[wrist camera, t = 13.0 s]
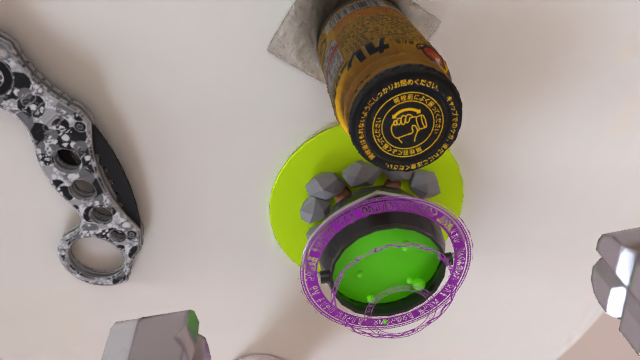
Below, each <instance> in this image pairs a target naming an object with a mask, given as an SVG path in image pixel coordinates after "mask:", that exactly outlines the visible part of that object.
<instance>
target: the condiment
mask: <svg viewBox="0 0 640 360" xmlns="http://www.w3.org/2000/svg"><path fill="white" fill-rule="evenodd" d="M440 23H441V21H440V20H438V19H437V18H435V17H434V16H433V15H431V14H430V13H428V12H427V11H426V10H424V9H423V8H421V7H420V6H418V5H417V4H416V3H414V2H413V1H411V0H296V2H295V3H294V5H293V6H292V8H291V10H290V12H289V13H288V15H287V17H286V19H285V20H284V22H283V23H282V25H281V27H280V28H279V30H278V31H277V33H276V35H275V37H274V38H273V40H272V42H271V43H270V45H269V47H268V48H267V50H268V51H270V52H271V53H273V54H275V55H276V56H278V57H280V58H282V59H283V60H285V61H287V62H289V63H290V64H292V65H293V66H295V67H297V68H299V69H301V70H302V71H304V72H305V73H307V74H309V75H311V76H312V77H314V78H316V79H318V80H319V81H321V82H323V83H325V84H327V88H328V93H329V96H330V99H331V103H332V107H333V109H334V113H335V116H336V119H337V121H338V122H339V123H340V125H341V127H342V129H343V130H344V131H345V132H346V134H347V135H348V136H349V137H350V138H351V141H352V143H353V145H354V146H355V148H356V150H358V153H359V154H360V155H361V156H362V157H363V158H364V159H365V160H367V161H368V162H370V163H372V164H374V165H375V166H376V167H380V168H382V169H384V170H387V171H404V172H409V171H414V170H417V169H420V168H422V167H424V166H427V165H429V164H431V163H432V162H434V161H436V160H437V159H438V158H439V157H441V156H442V155H443V154H444V152H445V151H446V150H447V149H448V148H449V147H450V146H451V145H452V144H453V142H454V141H455V140H456V137H457V135H458V132H459V129H460V127H461V122H462V102H461V99H460V95H459V92H458V90H457V88H456V87H455V85H454V84H453V83H452V79H451V76H450V72H449V69H448V67H447V65H446V62H445V61H444V60H443V58H442V57H441V55H439V54H438V52H437V51H436V50H435V49H434V48H433V46H432V45H431V44H430V43H429V42H428V41H427V40H428V39H429V38H430V36H431V35H432V34H433V32H434V31H435V30H436V28H437V27H438V25H439V24H440Z"/></svg>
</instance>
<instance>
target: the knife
mask: <svg viewBox="0 0 640 360" xmlns="http://www.w3.org/2000/svg"><path fill="white" fill-rule="evenodd" d="M0 108H3V109H6V110H7V111H9V112H11V113H13V114H14V115H15V116H16V117H17V118H18V119H19V120H20V121H21V122H22V123H23V124H24V126H25V127H26V128H27V130H28V131H29V133H30V136H31V138H32V142H33V143H34V147H35V152H36V155H37V158H38V161H39V164H40V166H41V168H42V170H43V172H44V174H45V176H46V177H47V179H48V180H49V182H50V183H51V185H52V186H53V187H54V188H55V189H56V190H57V191H58V192H59V193H60V194H61V195H62V196H63V197H64V198H65V199H66V200H67V201H68V202H69V203H70V204H71V205H72V206H73V207H74V208H75V210H76V211H77V212H78V214H79V216H80V218H81V223H80V224H78V225H77V226H75V227H73V228H71V229H69V230H68V231H67V232H66V233H65V234H64V236H63V238H62V239H61V241H60V243H59V245H58V256H59V259H60V261H61V263H62V264H63V266H64V267H65V269H66V270H67V271H69V272H70V273H71V274H72V275H73V276H75V277H76V278H78V279H80V280H82V281H85V282H87V283H90V284H94V285H101V286H109V285H116V284H120V283H123V282H125V281H127V280H128V279H129V275H130V273H131V267H132V261H133V259H134V257H135V255H136V254H137V253H138V252H139V251H140V250H141V246H142V244H143V224H142V223H141V222H140V217H139V213H138V208H137V204H136V201H135V198H134V195H133V192H132V189H131V186H130V184H129V181H128V179H127V177H126V175H125V172H124V170H123V168H122V166H121V164H120V162H119V160H118V159H117V157H116V155H115V153H114V151H113V150H112V148H111V147H110V145H109V144H108V142H107V140H106V139H105V138H104V137H103V135H102V134H101V133H100V131H99V130H98V129H97V127H96V126H95V120H94V117H93V116H92V114H91V113H90V111H89V110H88V109H87V108H86V107H85V106H84V105H83V104H82V103H80V102H78V101H76V100H74V99H72V98H71V97H69V96H68V95H66V94H64V93H62V92H61V91H60V90H59V89H58V88H56V87H54V86H53V85H52V84H51V83H50V82H49V81H48V80H46V79H45V78H44V77H43V76H42V75H41V74H40V73H39V72H38V71H37V70H36V69H35V67H34V66H33V65H32V64H31V63H30V62H29V60H28V58H27V57H26V56H25V54H24V53H23V52H22V50H21V48H20V46H19V45H18V43H17V41H16V39H14V38H12V37H10V36H8V35H7V34H5V33H3V32H1V31H0ZM60 149H62V150H60ZM69 150H71V151H73V152H75V153H76V154H77V155H78V156H79V157H80V159H81V164H80V165H79V163H78V162H77V161H76V159H75V158H74V156H73V155H72V154H71V152H70V151H69ZM98 154H99V155H98ZM99 156H100V157H101V158H100V159H99ZM102 166H103V167H107V169H108V171H107V172H106V173H107V176H108V177H109V178H111V179H113V181H114V183H113V185H112V187H111V185H110V183H109V181H108V180H107V178H106V175H105V173H104V170H103V168H102ZM75 180H85V181H87V182H89V183H91V184H92V185H93V186H94V188H95V190H96V191H95V192H91V193H90V192H85V191H82V190H80V189H79V188H78V187H77V186H76V184H75ZM114 191H116V192H118V193H119V194H118V195H116V193H115V192H114ZM95 207H103V208H105V209H108V210H109V211H110V212H111V213H112V215H111V216H105V215H101V214H99V213H98V212H97V211H96V210H95ZM116 230H121V231H122V232H124V233H119V232H117V231H116ZM82 238H99V239H103V240H106V241H108V242H110V243H112V244H113V245H115V246H116V247H117V248H118V249H119V250H120V251H121V252H122V254H123V255H124V260H125V261H124V264H123V265H122V266H121V267H120V268H118V269H116V270H111V271H98V270H93V269H90V268H87V267H86V266H84V265H82V264H81V263H79V262H78V261H77V260H76V259H75V257H74V256H73V254H72V251H71V245H72V244H73V243H74V242H75V241H77V240H78V239H82Z"/></svg>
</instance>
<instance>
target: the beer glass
mask: <svg viewBox="0 0 640 360" xmlns="http://www.w3.org/2000/svg"><path fill="white" fill-rule="evenodd" d="M238 360H280V359H278V358H276V357H273V356H270V355H264V354H255V355H249V356H245V357H242V358H240V359H238Z"/></svg>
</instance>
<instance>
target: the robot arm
mask: <svg viewBox="0 0 640 360" xmlns="http://www.w3.org/2000/svg"><path fill="white" fill-rule="evenodd" d="M596 250H597V252H598V253H599V254H600V255H601V256H602V257H601V258H600V259H599V261H598V262H597V263H596V264H595V265H594V266H593V269H592V276H591V281H592V286H593V291H594V294H595V296H596V298H597V300H598V302H599V304H600V305H601V306H602V308H603V309H604V311H605V312H606V313H608V314H610V315H612V316H614V317H616V318H618V319H620V326H619V331H620V332H621V333H622V334H623V336H624V337H625V338H626V340H627V341H628V342H629V344H630V345H631V346H632V348H633V349H634V350H635V351H636V353H637V354H638V355H639V357H640V227H638V228H633V229H628V230H622V231H617V232H612V233H607V234H602V236H601V237H600V238H599V240H598V243H597V248H596ZM198 329H199V321H198V319H197V316H196V314H195V312H194V311H192V310H186V311H180V312H174V313H167V314H161V315H155V316H148V317H142V318H139V319H133V320H126V321H120V322H116V323H115V324H114V325H113V326H112V328H111V329H110V332H109V336H108V339H107V342H106V346H105V349H104V352H103V356H102V359H101V360H211V355H210V351H209V347H208V344H207V341H206V338H205V337H203V336H202V335H200V334H198Z"/></svg>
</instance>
